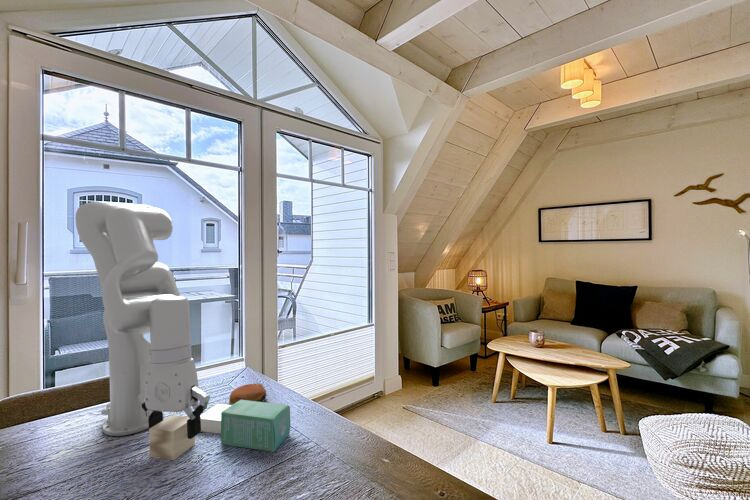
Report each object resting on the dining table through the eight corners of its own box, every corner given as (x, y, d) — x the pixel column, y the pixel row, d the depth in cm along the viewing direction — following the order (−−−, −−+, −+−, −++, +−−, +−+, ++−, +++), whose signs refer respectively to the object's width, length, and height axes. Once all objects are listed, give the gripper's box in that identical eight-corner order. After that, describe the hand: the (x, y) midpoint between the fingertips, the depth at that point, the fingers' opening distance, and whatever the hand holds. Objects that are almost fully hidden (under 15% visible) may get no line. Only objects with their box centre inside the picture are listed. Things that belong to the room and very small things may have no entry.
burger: (223, 411, 94) (222, 393, 94) (239, 396, 104) (238, 380, 104) (258, 411, 94) (258, 394, 94) (271, 397, 103) (271, 381, 103)
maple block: (149, 457, 74) (149, 428, 74) (172, 441, 80) (171, 415, 79) (173, 460, 72) (173, 431, 72) (195, 444, 78) (194, 417, 78)
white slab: (195, 430, 84) (195, 418, 84) (217, 415, 92) (217, 403, 92) (225, 434, 82) (224, 421, 82) (245, 417, 90) (244, 406, 90)
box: (275, 453, 74) (274, 417, 74) (220, 446, 77) (219, 412, 77) (291, 435, 81) (290, 403, 81) (240, 429, 85) (240, 398, 85)
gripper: (123, 359, 74) (126, 440, 74) (193, 360, 70) (197, 446, 70) (153, 349, 81) (156, 423, 81) (218, 349, 77) (221, 428, 77)
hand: (175, 434), depth 75 cm, fingers open, 9 cm apart
